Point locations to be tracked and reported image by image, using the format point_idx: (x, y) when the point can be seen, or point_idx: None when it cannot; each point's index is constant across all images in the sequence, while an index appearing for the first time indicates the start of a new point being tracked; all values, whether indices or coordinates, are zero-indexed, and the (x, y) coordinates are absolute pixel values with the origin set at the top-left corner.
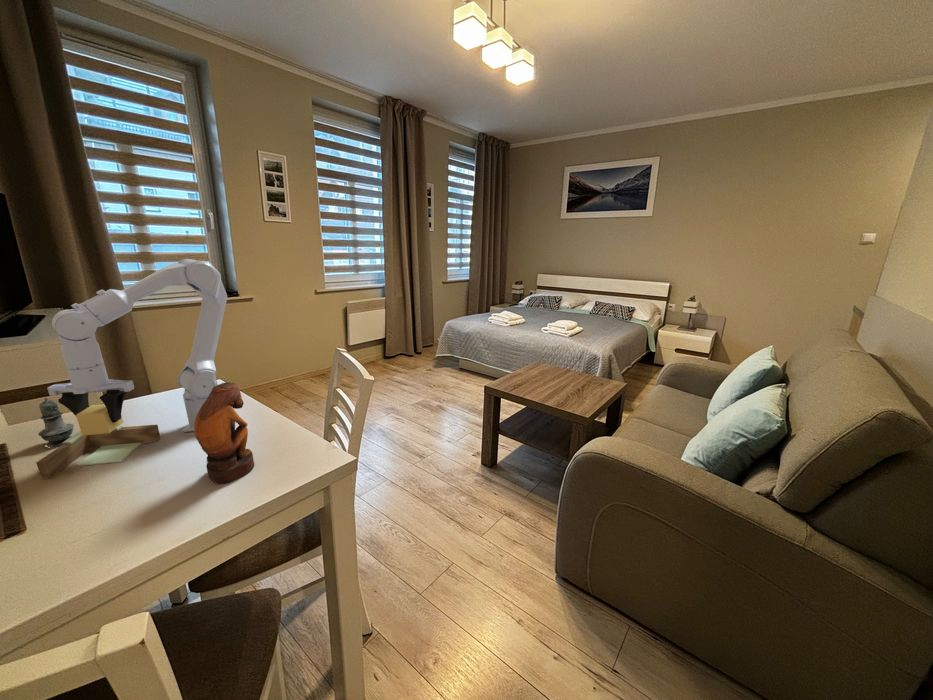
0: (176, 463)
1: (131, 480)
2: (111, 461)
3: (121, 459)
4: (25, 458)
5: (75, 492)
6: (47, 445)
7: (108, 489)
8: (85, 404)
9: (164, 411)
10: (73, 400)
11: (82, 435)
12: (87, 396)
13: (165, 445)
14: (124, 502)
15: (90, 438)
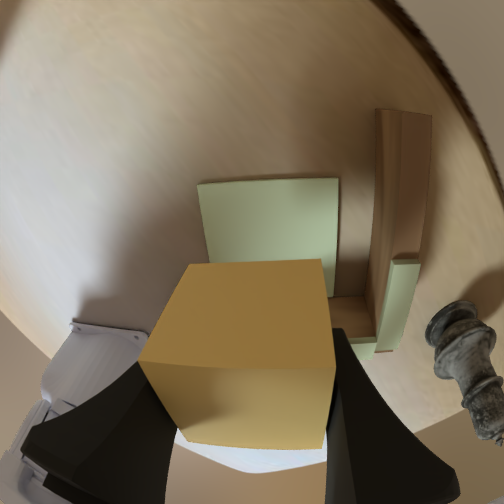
0: (46, 169)
1: (93, 81)
2: (227, 185)
3: (200, 195)
4: (495, 257)
5: (216, 13)
6: (472, 310)
7: (125, 34)
8: (330, 455)
9: None
10: (349, 500)
11: (320, 259)
12: (326, 501)
13: (136, 271)
14: (61, 6)
15: (368, 318)
